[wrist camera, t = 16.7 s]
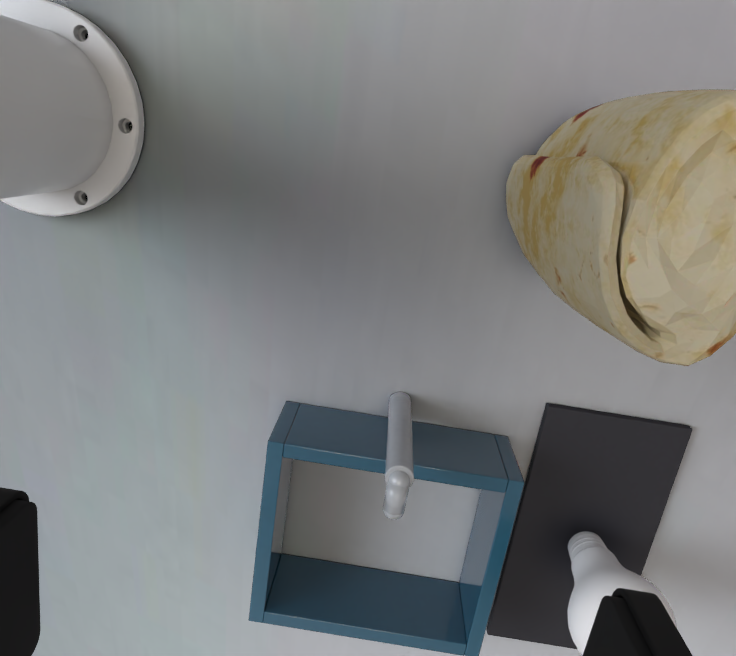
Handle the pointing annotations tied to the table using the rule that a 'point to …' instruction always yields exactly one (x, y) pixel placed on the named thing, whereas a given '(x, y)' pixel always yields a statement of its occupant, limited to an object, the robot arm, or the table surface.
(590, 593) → the lightbulb
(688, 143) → the food model
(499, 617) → the mat
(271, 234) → the table surface
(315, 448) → the sink
